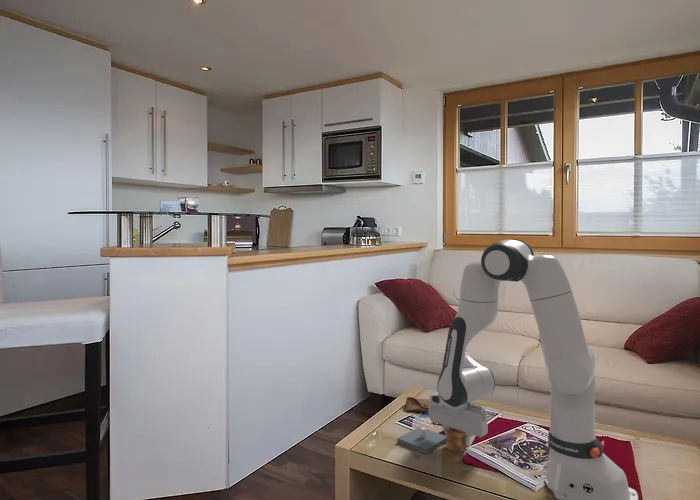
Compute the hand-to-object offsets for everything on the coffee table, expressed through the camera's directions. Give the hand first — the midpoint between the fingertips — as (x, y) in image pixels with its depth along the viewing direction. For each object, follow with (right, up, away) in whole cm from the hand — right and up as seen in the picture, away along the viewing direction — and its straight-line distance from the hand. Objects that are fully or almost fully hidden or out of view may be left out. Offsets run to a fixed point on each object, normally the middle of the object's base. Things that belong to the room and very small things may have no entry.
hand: (457, 441), depth 153 cm
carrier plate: (-10, -2, +5) cm, 12 cm away
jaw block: (0, -2, 0) cm, 2 cm away
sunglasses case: (-5, -1, +32) cm, 32 cm away
